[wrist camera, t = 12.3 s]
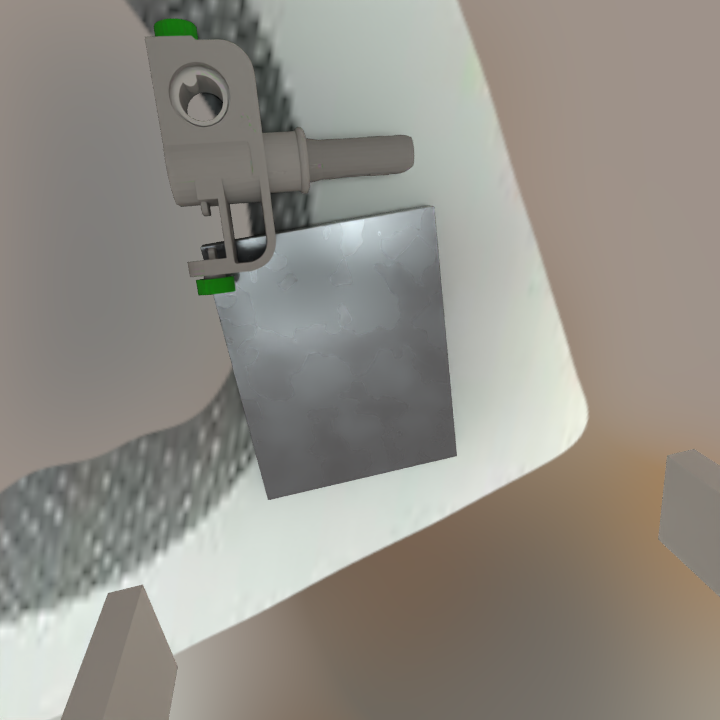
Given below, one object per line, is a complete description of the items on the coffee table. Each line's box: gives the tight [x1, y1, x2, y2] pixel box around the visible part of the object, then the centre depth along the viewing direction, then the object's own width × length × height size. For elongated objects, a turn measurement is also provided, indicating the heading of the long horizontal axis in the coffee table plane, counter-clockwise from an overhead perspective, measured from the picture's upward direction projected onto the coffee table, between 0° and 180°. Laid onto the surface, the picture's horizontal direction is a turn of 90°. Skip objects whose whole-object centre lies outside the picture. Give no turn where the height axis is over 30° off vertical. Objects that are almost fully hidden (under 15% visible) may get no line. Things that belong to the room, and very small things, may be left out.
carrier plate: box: [201, 205, 457, 500], centre depth 26 cm, size 14×11×1 cm
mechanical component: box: [145, 19, 414, 295], centre depth 21 cm, size 3×10×10 cm
